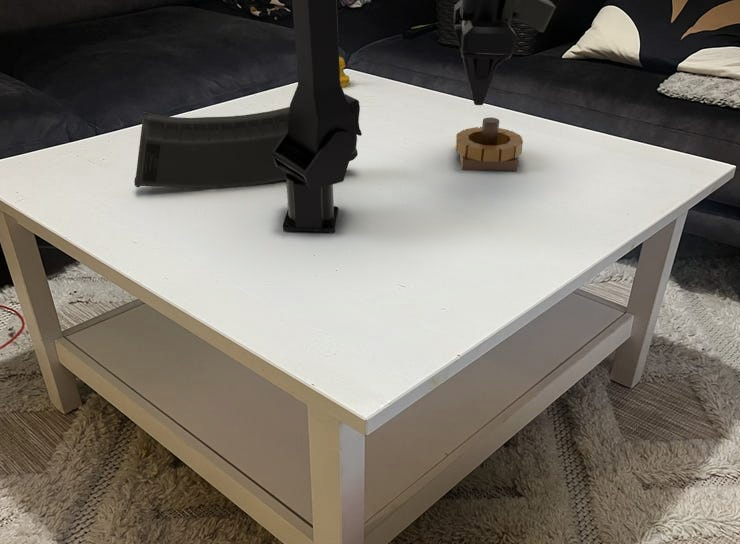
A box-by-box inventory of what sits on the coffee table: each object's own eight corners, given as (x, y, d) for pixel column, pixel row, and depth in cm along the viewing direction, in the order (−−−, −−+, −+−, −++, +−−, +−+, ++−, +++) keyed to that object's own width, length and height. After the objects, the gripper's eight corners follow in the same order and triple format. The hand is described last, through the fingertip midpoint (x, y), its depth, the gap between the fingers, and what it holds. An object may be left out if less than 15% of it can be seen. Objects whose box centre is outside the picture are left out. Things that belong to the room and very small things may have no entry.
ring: (524, 162, 105) (526, 150, 104) (457, 161, 105) (458, 148, 104) (517, 139, 113) (518, 127, 111) (454, 137, 113) (455, 126, 112)
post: (516, 171, 106) (522, 130, 103) (461, 169, 107) (465, 128, 103) (510, 150, 113) (515, 111, 109) (458, 149, 113) (461, 110, 109)
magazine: (104, 131, 92) (324, 45, 93) (104, 123, 95) (319, 39, 96) (165, 243, 103) (362, 166, 104) (164, 233, 106) (357, 157, 106)
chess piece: (328, 87, 139) (327, 59, 136) (329, 81, 142) (329, 54, 139) (348, 87, 138) (348, 59, 136) (350, 81, 142) (349, 54, 139)
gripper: (571, -23, 81) (547, 118, 90) (543, -47, 96) (525, 77, 105) (470, -26, 81) (456, 115, 90) (458, -49, 96) (448, 74, 105)
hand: (475, 94), depth 98 cm, fingers open, 9 cm apart
